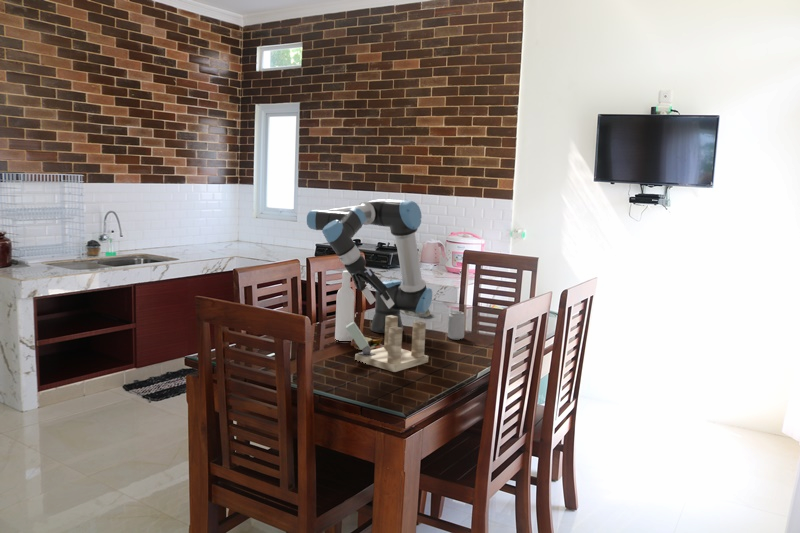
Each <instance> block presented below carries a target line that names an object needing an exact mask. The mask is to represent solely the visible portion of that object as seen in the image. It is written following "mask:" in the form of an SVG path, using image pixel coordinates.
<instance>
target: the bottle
mask: <svg viewBox="0 0 800 533" xmlns="http://www.w3.org/2000/svg"><path fill="white" fill-rule="evenodd" d="M351 279H352V276H351V274H350V273H349V272H348V271H347V270H343V271H342V273H341V288H339V289H338V291H337V293H336V299H335V300H336V304H335V305H336V306H335V308H336V309H335V326H334V327H335V331H334V340H335V339H336V340H339V341H351V342H352V340H353V338H352V336H351V335H350V333H349V332H348V330H347V329H346V326H347V325H348V324H350V323H351V322H353V321H354V320H355V304H356V303H355V297H356V295H355V292H354V289H352V288H351ZM354 322H355V321H354ZM336 340H335V341H336Z"/></svg>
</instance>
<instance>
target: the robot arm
mask: <svg viewBox="0 0 800 533" xmlns="http://www.w3.org/2000/svg"><path fill="white" fill-rule="evenodd" d="M420 208H421V207H420V206H419V204H418V203H417V202H415V201H413V200H407V199H388V198H381V199H379V198H378V199H372V200H368V201H363V202H360V203H359V204H358V205H353V206H345V207H339V208H336V207H335V208H330V209H324V210H322V209H321V210H320V209H311V210H310V211H309V212H308V213H307V215H306V225H307V227H308V228H309V229H310V230H315V231H322V234H323V236H324V238H325V240H326V241H327V243H328V244H329V245H330V247H331V248H332V250H333V251H334V252H335V254H336V255H337V257H338V259H339V262H341V263H342V264H343V265H344V267H345V269H346V271H348V272H349V273H350V274H351V279H352V280H353V283H354V286H355V289H356V290H359V291H361V292H362V294H363V296H364V297H365V298H366V300H367V302H368V303H369V305H372V304H375V307H374V310H375V311H374V315H373V318H372V321H371V324H370V331H372V332H373V333H378V334H379V333H380V334H385V319H386V316H390V315H393V316H397V317H398V327H401V328H402V332H403V331H404V325H403V321H402V317H401V312H400V311H401V310H404V311H411V312H416V313H424V312H426V311H427V310H428V309H429V310H430V307H431V304H432V301H433V290H432V288H430V287H427V283H426V281H425V279H423V278H422V270H421V266H420V258H419V252H418V245H417V239H416V232H418V230H419V229H418V228H420V226H421V223H422V212H421V211H422V210H421V209H420ZM364 225H365V226H367V225H368V226H369V225H371V226H378V227H384V228H385V227H387V228H389V230H390V234H391V235H392V236H394V238H395V242H396V243H395V244H396V249H397V250H396V251H397V256H398V261H399V263H398V264H399V268H400V273H401V275H400V276H401V279H402V280H397V279H394V280H384V281H382V280H381V279H380V278H379V277H378V276H377V275H376V274H375V273H374V272H373V269H372V268H369V269H368V268H366V264H367V261H366V259H365V258H364V256H363V255H362V254H361V251H360V250H359V248H358V247H357V246H358V245H356V244H355V242H354V240H353V239H352V238H353V237H354V236H355V235H356V233H358V232H359V231H360V230H361V229H362V227H363V226H364ZM367 284H369V286H371V287H372V288H373V289H374V290H375V296H374V295H373V293H372V292H371V289H370V288H369V287H368V285H367ZM374 302H375V303H374Z"/></svg>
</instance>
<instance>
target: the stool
mask: <svg viewBox="0 0 800 533" xmlns="http://www.w3.org/2000/svg"><path fill="white" fill-rule="evenodd" d="M426 326H427V323H426V322H424V321H419V320H418V321H414V322H412V333H411V334H412V335H411V351H410V350H407V349H403V347H402V343H403V331H402V328H401V327H398V317H397V316H393V315H390V316H386V319H385V333H384V340H383V342H384V344H383V345H384V347H382V348H378V349H374V350H371V352H370V353H369V354H367V355H366V354H364V353H363V351H360V352H358V353H355V355H354V361H355V360H357V361H356V362H359V361H360V363H362V362H363V363H362V364H365V363H366V364H365V365H368V366H369V365H370V366H373V367H376V368H380V369H383V370H386V371H389V372H393V373H396V372H397V373H398V372H400V371H403V370H407V369H409V368H413V367H417V366H420V365H423V364H427V363H429V355H428V354H427V355H426V354H425V346H426V345H425V344H426V328H427V327H426Z"/></svg>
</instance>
